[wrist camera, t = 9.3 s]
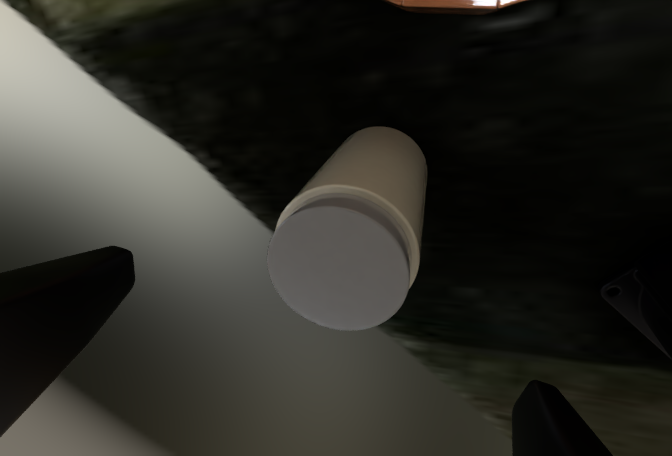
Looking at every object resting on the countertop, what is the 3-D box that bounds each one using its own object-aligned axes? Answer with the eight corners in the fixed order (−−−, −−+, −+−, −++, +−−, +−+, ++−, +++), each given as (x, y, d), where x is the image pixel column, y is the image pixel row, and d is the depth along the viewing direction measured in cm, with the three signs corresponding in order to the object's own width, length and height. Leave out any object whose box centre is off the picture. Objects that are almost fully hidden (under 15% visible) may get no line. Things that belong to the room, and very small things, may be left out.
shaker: (448, 171, 17) (454, 278, 9) (383, 233, 19) (346, 359, 12) (374, 104, 16) (319, 163, 9) (315, 176, 18) (233, 270, 11)
